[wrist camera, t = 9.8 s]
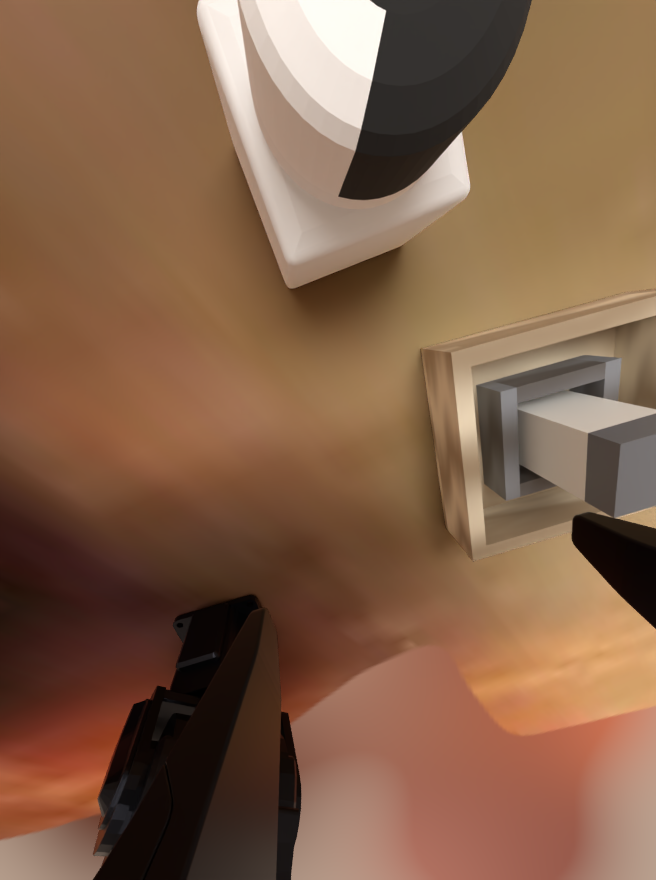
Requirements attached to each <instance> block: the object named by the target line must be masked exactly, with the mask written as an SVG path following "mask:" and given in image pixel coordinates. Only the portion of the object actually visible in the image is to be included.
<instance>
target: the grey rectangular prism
mask: <svg viewBox="0 0 656 880" xmlns="http://www.w3.org/2000/svg"><path fill="white" fill-rule="evenodd" d="M517 413H518V443H519V464H520V465H522V466H524V467H525V468H527V469H529V470H531V471H532V472H534V473H536V474H538V475H539V476H541V477H543V478H545V479H546V480H548V481H550V482H552V483H553V484H555V485H557V486H559V487H560V488H562V489H564V490H566V491H567V492H569V493H571V494H573V495H574V496H576V497H578V498H580V499H581V500H583V501H585V502H587V503H588V504H590V505H592V506H593V507H595V508H597V509H599V510H600V511H602V512H604V513H606V514H607V515H609V516H611V517H613V518H616V517H620V516H623V515H626V514H630V513H633V512H636V511H640V510H643V509H646V508H650V507H653V506H656V409H652V408H647V407H642V406H637V405H633V404H628V403H623V402H619V401H614V400H609V399H605V398H600V397H595V396H591V395H586V394H581V393H576V392H572V391H567V390H564V391H560V392H556V393H553V394H549V395H546V396H542V397H539V398H535V399H532V400H528V401H525V402H521V403H518V404H517Z"/></svg>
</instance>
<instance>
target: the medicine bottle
mask: <svg viewBox="0 0 656 880" xmlns="http://www.w3.org/2000/svg"><path fill="white" fill-rule="evenodd" d="M531 1H532V0H199V2H198V6H197V18H198V23H199V27H200V30H201V34H202V37H203V41H204V44H205V48H206V51H207V55H208V58H209V62H210V65H211V69H212V72H213V76H214V79H215V83H216V86H217V90H218V93H219V96H220V100H221V103H222V107H223V110H224V114H225V117H226V121H227V124H228V128H229V131H230V135H231V138H232V142H233V145H234V148H235V151H236V153H237V156H238V159H239V161H240V164H241V167H242V169H243V172H244V175H245V177H246V180H247V183H248V185H249V188H250V191H251V193H252V196H253V199H254V201H255V204H256V207H257V209H258V212H259V215H260V217H261V220H262V223H263V225H264V228H265V231H266V233H267V236H268V239H269V241H270V244H271V247H272V249H273V252H274V255H275V257H276V260H277V263H278V265H279V268H280V271H281V273H282V276H283V279H284V281H285V284H286V285H287V287H288V288H290V289H294V288H297V287H299V286H302V285H304V284H307V283H309V282H312V281H314V280H317V279H319V278H322V277H324V276H327V275H330V274H332V273H335V272H337V271H340V270H342V269H345V268H347V267H350V266H352V265H355V264H357V263H360V262H362V261H365V260H367V259H370V258H372V257H375V256H378V255H380V254H383V253H385V252H388V251H390V250H393V249H395V248H398V247H400V246H402V245H403V244H405V243H406V242H407V241H409V240H410V239H411V238H413V237H414V236H415V235H417V234H418V233H420V232H421V231H422V230H424V229H425V228H426V227H428V226H429V225H430V224H432V223H433V222H434V221H436V220H437V219H438V218H440V217H441V216H443V215H444V214H445V213H447V212H448V211H449V210H451V209H452V208H453V207H455V206H456V205H457V204H459V203H460V202H461V201H463V200H464V199H465V198H466V197H467V195H468V193H469V191H470V181H469V174H468V168H467V162H466V155H465V149H464V143H463V137H462V131H463V130H464V128H465V127H466V126H467V125H468V124H469V123H470V122H471V120H472V119H473V118H474V117H475V116H476V115H477V114H478V112H479V111H480V110H481V109H482V107H483V106H484V105H485V104H486V102H487V101H488V100H489V99H490V98H491V96H492V94H493V93H494V91H495V90H496V88H497V87H498V85H499V83H500V82H501V80H502V79H503V77H504V75H505V73H506V71H507V69H508V67H509V65H510V63H511V61H512V59H513V57H514V55H515V52H516V49H517V47H518V44H519V41H520V39H521V36H522V33H523V31H524V27H525V24H526V20H527V16H528V12H529V9H530V5H531Z"/></svg>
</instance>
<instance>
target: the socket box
mask: <svg viewBox="0 0 656 880" xmlns="http://www.w3.org/2000/svg"><path fill="white" fill-rule="evenodd" d="M421 354H422V361H423V369H424V376H425V383H426V390H427V397H428V405H429V412H430V419H431V426H432V433H433V441H434V448H435V455H436V462H437V469H438V477H439V484H440V491H441V498H442V505H443V513H444V520H445V527H446V529H447V530H448V531H449V532H450V534H451V535H452V536H453V537H454V539H455V540H456V541H457V542H458V543H459V545H460V546H461V547H462V548H463V550H464V551H465V552H466V553H467V555H468V556H469V557H470V558H471V560H472V561H473V562H474V561H477V560H480V559H484V558H487V557H490V556H494V555H497V554H500V553H504V552H507V551H510V550H514V549H517V548H521V547H524V546H527V545H531V544H534V543H537V542H541V541H544V540H547V539H551V538H554V537H557V536H561V535H564V534H567V533H571V532H572V519H573V517H574V516H575V515H578V514H581V513H585V512H593V513H597V514H601V515H605V516H608V517H611V516H609V515H607V514H606V513H604V512H602V511H600V510H599V509H597V508H595V507H593V506H592V505H590V504H588V503H587V502H585V501H583V500H581V499H580V498H578V497H576V496H574V495H573V494H571V493H569V492H567V491H566V490H564V489H562V488H560V487H559V486H557V485H555V484H553V483H552V482H550V481H548V480H546V479H545V478H543V477H541V476H539V475H538V474H536V473H534V472H532V471H531V470H529V469H527V468H525V467H524V466H522V465H520V464H519V443H518V413H517V404H518V403H521V402H525V401H528V400H532V399H535V398H539V397H542V396H546V395H549V394H553V393H556V392H560V391H564V390H567V391H572V392H576V393H581V394H586V395H591V396H595V397H600V398H605V399H609V400H614V401H619V402H623V403H628V404H633V405H637V406H642V407H647V408H652V409H656V289H648V290H639V291H631V292H625V293H621V294H618V295H614V296H610V297H607V298H603V299H599V300H596V301H592V302H588V303H585V304H581V305H577V306H574V307H570V308H567V309H563V310H559V311H556V312H552V313H548V314H545V315H541V316H537V317H534V318H530V319H527V320H523V321H519V322H516V323H512V324H508V325H505V326H501V327H497V328H494V329H490V330H486V331H483V332H479V333H476V334H472V335H468V336H465V337H461V338H457V339H454V340H450V341H446V342H443V343H439V344H435V345H432V346H428V347H425V348H421ZM654 507H656V506H653V507H650V508H646V509H643V510H640V511H636V512H633V513H630V514H626V515H623V516H620V517H616V519H617V518H621V517H624V516H627V515H631V514H634V513H637V512H641V511H644V510H647V509H651V508H654ZM612 518H613V517H612Z"/></svg>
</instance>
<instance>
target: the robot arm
mask: <svg viewBox="0 0 656 880" xmlns="http://www.w3.org/2000/svg"><path fill="white" fill-rule="evenodd" d="M572 541H573V544H574V545H575V547H576V548H577V549H578V550H579V551H580V552H581V553H582V555H583V556H584V557H585V558H586V559H587V560H588V561H589V562H590V563H591V564H592V566H593V567H594V568H595V569H596V570H597V571H598V572H599V573H600V574H601V575H602V576H603V578H604V579H605V580H606V581H607V582H608V583H609V584H610V585H611V586H612V587H613V588H614V589H615V591H616V592H617V593H618V594H619V595H620V596H621V597H622V598H623V599H624V600H625V601H626V602H627V603H629V604H630V605H631V606H632V607H633V608H634V609H635V610H636V611H637V612H638V613H639V614H640V615H641V616H642V617H644V618H645V619H646V620H647V621H648V622H649V623H650V624H651V625H652V626H653V627H654V628H655V629H656V529H655V528H651V527H647V526H643V525H640V524H636V523H632V522H628V521H624V520H620V519H616V518H612V517H608V516H605V515H601V514H597V513H593V512H585V513H581V514H578V515H575V516H574V517H573V519H572ZM249 602H252V603H249ZM173 627H174V629H175V631H176V632H177V634H178V636H179V637H180V639H181V641H182V642H183V645H182V648H181V651H180V654H179V657H178V660H177V663H176V668H177V669H176V672H175V675H174V678H173V681H172V684H171V687H170V690H166V687H161V686H157V687H156V689H155V691H154V693H153V695H152V696H151V698H150V699H146V700H145V701H142V702H139V703H136V704H134V705H133V707H132V709H131V711H130V713H129V716H128V718H127V721H126V723H125V726H124V728H123V730H122V733H121V735H120V738H119V740H118V743H117V745H116V748H115V751H114V753H113V756H112V759H111V762H110V764H109V767H108V770H107V773H106V776H105V779H104V782H103V784H102V787H101V790H100V793H99V796H98V803H99V807H100V810H101V814H102V815H101V818H100V822H99V826H98V829H99V832H98V836H97V840H96V843H95V847H94V852H93V855H94V856H105V858H104V860H103V863H102V866H101V868H100V870H99V871H98V873H97V874H96V876H95V877H94V879H93V880H291V869H292V860H293V851H294V845H295V841H296V837H297V832H298V827H299V820H300V811H301V783H300V775H299V769H298V764H297V759H296V754H295V748H294V743H293V737H292V732H291V726H290V721H289V716H288V713H285V712H281V687H280V672H279V657H278V642H277V632H276V628H275V626H274V623H273V621H272V619H271V616H270V614H269V612H268V610H267V609H266V608H261V607H260V605H259V602H258V600H257V598H256V597H255V596H253V595H249V596H245V597H242V598H239V599H235V600H232V601H228V602H225V603H222V604H218V605H215V606H211V607H208V608H205V609H201V610H198V611H195V612H191V613H188V614H184V615H181V616H178V617H176V618H175V621H174V623H173Z"/></svg>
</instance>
